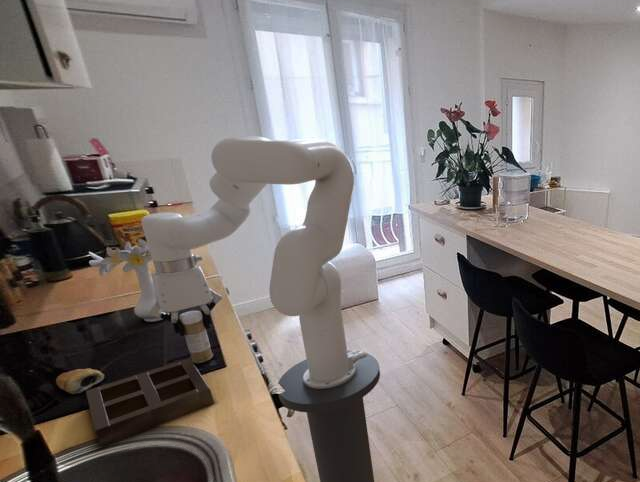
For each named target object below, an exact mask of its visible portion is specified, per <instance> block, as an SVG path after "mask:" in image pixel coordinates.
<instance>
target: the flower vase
mask: <svg viewBox="0 0 640 482" xmlns="http://www.w3.org/2000/svg"><path fill="white" fill-rule="evenodd" d="M137 242H138V244H139V245H140V246H138V245H134V246H132V245H131V243H130V241H128V242H125V244H124V247H123V248H124V249H121V250H120V248H119V247H115V250H113V249H112V247H109V246H107V247H106V254H107V256H108V257H107V256H106V257H104V258H103V257H101V255H97V254H96V253H94V252H91V251H88V254H89V256H90V257H91V258H93V259H91V260H89V261H88V263H89V265H90V266H91V267H93V268H95V267H98V274H99V275H100V277H103V276H104V274H105V273H107V274H108V273H111V272H112V271H113V270H114V268H115V267H116V266H120V264H121V263H123V262H126V263H125V264H124V266H123V267H122V271H123V272H124V273H128V272H131V271H132V270H134V272H135V274H136V277H137V280H138V283H139V287H140V297H139V300H138V301H137V303H136V304H135V306H134V308H133V314H134V315H135V316H137V317H138V318H140V319H143V321H145V322H147V323H149V322H150V323H153V322H154V323H155V322H159V321H162V320H164V319H162V318H157V317H153V316H150V314H149V312H150V310H151V308H152V307H153V305H154V303H155V302H156V300H157V299H156V296H155V291H154V287H153V280H152V274H151V271H150V262H152V261H153V260H152V256H151V253H150V250H149V247H148V244H147V241H145V240H144V239H141V238H138V239H137ZM159 312H163V311H162V309H161V308H160V310H159ZM164 313H167V314H169V312H164Z"/></svg>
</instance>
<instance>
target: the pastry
mask: <svg viewBox="0 0 640 482" xmlns="http://www.w3.org/2000/svg"><path fill="white" fill-rule="evenodd" d="M104 379H105V374H104V373H102V372H101V371H100V370H98V369H94V368H93V369H92V368H91V367H89V368H88V367H87V368H78V369H73V370H70V371H67V372H62V373H61V374H59V375H58V376H57V377H56V378H55V382H56V385H57V386H58V388H59V389H60V390H62V391H65V392H66V393H69V394H71V395H76V394H81V393H83V392H86V391H87V390H90V389H92V387H94V386H96V385H98V384H100V383H102V382H103V381H104Z"/></svg>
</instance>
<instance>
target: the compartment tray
mask: <svg viewBox="0 0 640 482" xmlns="http://www.w3.org/2000/svg"><path fill="white" fill-rule="evenodd" d="M85 393H86V397H87V402H88V407H89V411H90V415H91V420H92V423H93V428H94V432H95V434H96V436H97V440H98V441H99V444H100V447H103V448H104V447H105V446H108V445H111V444H113V443H116V442H118V441H121V440H124V439H126V438H128V437H131V436H134V435H136V434H139V433H142V432H144V431H146V430H149V429H152V428H154V427H157V426H160V425H161V424H165V423H167V422H170V421H173V420H174V419H177V418H180V417H182V416H184V415H187V414H190V413H192V412H195V411H197V410H200V409H203V408H205V407H207V406H210V405H213V404H215V401H214V399H213V394H212V391H211V387H210V386H209V385H208V383H207V382H206V381H205V379H204V377H203V376H202V374H201V373H200V371H199V370H198V368H197V367H196V366H195V363H194V362H192V358H190V357H189V358H186V359H182V360H179V361H176V362H172V363H170V364H166V365H163V366H161V367H156V368H153V369H151V370H147V371H144V372H141V373H138V374H135V375H132V376H129V377H125V378H122V379H118V380H115V381H112V382H110V383H106V384H103V385H99V386H97V387H93V388H89V389H87V390H85Z"/></svg>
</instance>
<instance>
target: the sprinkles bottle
mask: <svg viewBox="0 0 640 482" xmlns="http://www.w3.org/2000/svg"><path fill="white" fill-rule="evenodd" d="M178 319H179V320H180V322H181V324H182V327H183V331H184V334H185V335H184V339H185V342H186V345H187V348H188V352H189V353H190V357H191V361H192V362H193V364H203V363H207V362H208V361H210V360H212V358H213V357H214V353H213V352H212V349H211V344H210V340H209V336H208V333H207V329H206V328H205V326H204V323H203V316H202V313H201V310H189V311H186V312H183V313H181V314H179V315H178Z"/></svg>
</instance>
